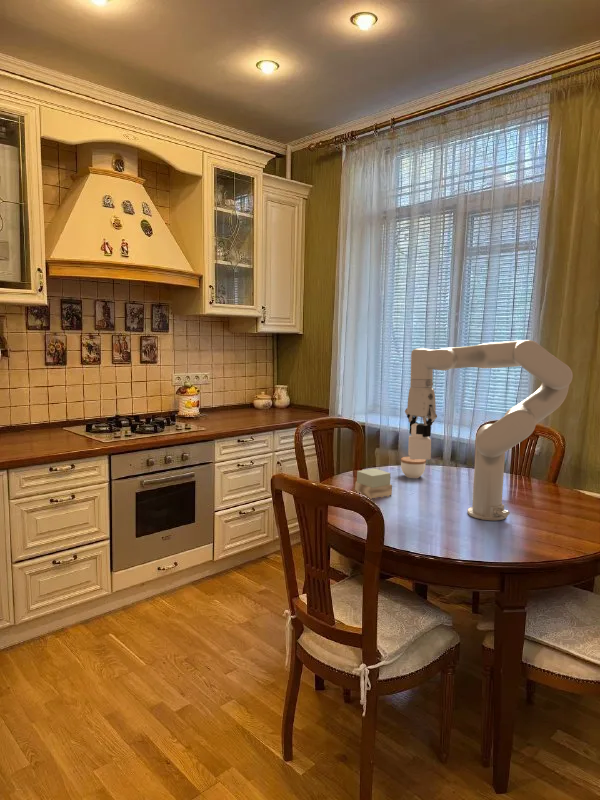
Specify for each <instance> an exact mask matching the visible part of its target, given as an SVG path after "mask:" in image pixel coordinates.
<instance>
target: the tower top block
mask: <svg viewBox="0 0 600 800" xmlns="http://www.w3.org/2000/svg"><path fill="white" fill-rule="evenodd" d="M356 482H357V483H360V484H363V485H365V486H368V487H371V488H375V487H380V486H386V485H390V484H391V472H387V471H385V470H382V469H379V468H369V469H362V470H356Z"/></svg>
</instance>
